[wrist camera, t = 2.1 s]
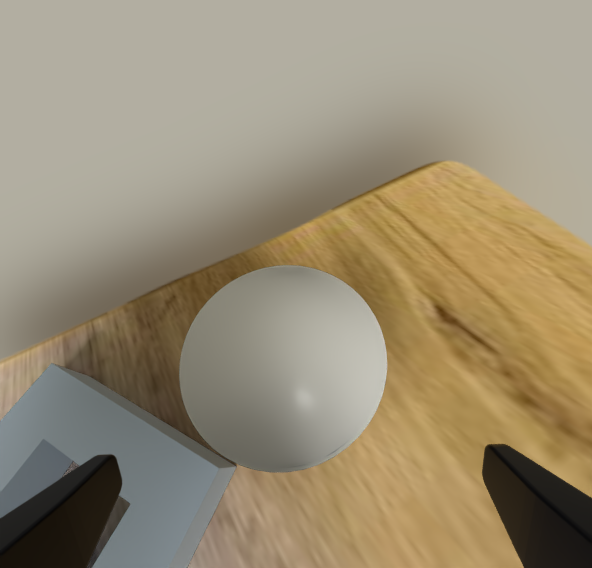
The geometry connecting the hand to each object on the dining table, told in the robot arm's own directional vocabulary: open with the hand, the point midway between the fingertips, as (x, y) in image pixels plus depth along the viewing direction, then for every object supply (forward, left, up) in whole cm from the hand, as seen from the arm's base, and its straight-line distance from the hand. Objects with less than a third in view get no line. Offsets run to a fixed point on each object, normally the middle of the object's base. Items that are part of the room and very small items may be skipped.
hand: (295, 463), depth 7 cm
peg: (+2, +1, -9) cm, 9 cm away
